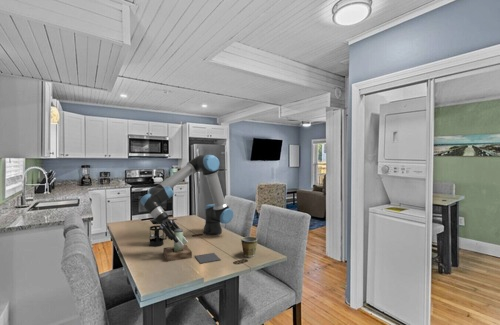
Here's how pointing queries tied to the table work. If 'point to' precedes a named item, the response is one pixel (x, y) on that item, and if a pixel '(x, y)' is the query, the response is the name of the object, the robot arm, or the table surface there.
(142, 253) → the table surface
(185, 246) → the socket block
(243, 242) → the ceramic cup
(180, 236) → the plug
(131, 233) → the table surface
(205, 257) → the mat
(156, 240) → the french press
